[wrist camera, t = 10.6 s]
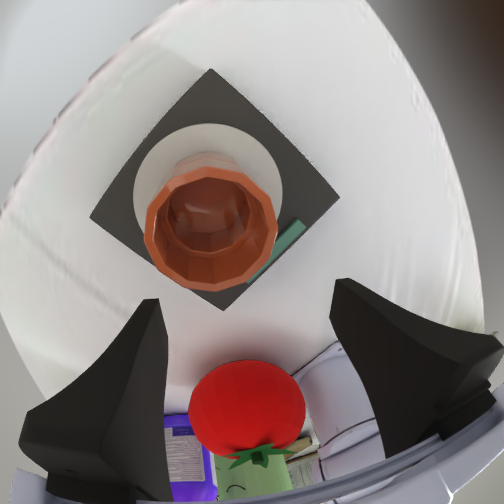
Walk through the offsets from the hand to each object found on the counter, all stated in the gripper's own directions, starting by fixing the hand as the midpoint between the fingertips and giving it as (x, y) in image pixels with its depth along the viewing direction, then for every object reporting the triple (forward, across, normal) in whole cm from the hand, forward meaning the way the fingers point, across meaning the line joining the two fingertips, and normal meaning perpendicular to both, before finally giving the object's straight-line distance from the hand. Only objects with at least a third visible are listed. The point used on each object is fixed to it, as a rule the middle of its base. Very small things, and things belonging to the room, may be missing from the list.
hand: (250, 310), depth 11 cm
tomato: (+10, 0, +16) cm, 18 cm away
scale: (+9, +1, -2) cm, 10 cm away
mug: (+10, 0, +35) cm, 37 cm away
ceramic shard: (+11, -8, +38) cm, 40 cm away
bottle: (+10, +8, +25) cm, 28 cm away
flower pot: (+6, +1, -3) cm, 7 cm away
